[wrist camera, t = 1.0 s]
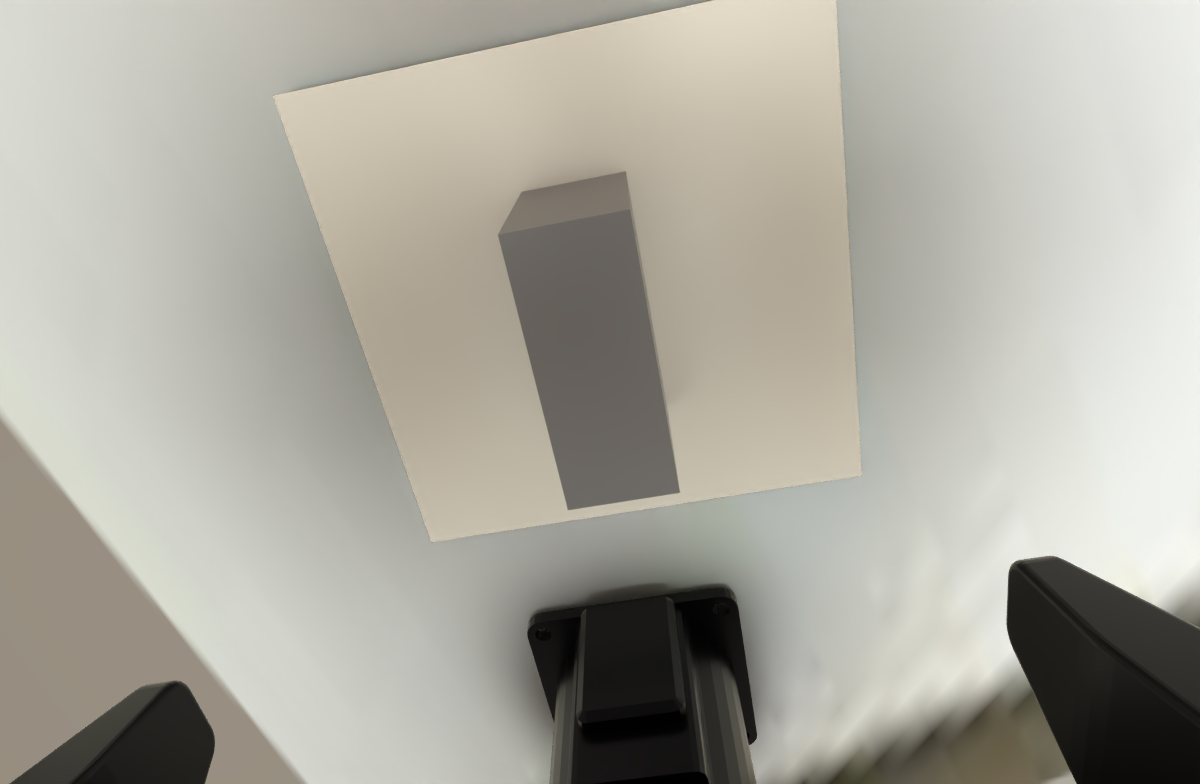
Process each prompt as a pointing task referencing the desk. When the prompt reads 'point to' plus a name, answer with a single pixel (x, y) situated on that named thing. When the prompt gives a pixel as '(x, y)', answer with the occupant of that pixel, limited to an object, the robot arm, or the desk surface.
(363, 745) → the desk surface
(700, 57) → the lid
